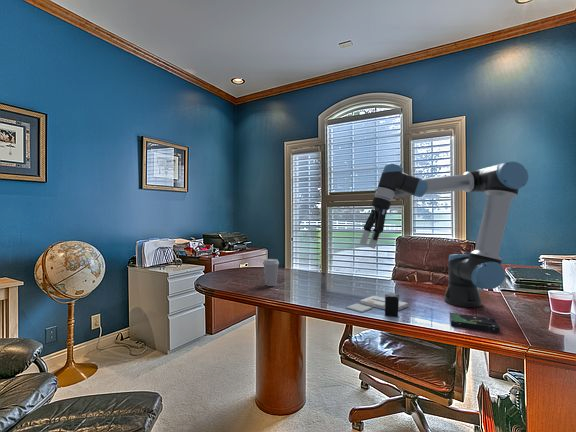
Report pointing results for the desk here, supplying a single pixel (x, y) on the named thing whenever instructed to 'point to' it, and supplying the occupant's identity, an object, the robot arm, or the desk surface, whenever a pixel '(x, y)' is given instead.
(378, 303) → the switch panel
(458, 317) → the disk drive
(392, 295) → the switch tab
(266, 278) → the coffee cup
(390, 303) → the ink cartridge
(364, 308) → the mat
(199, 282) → the desk surface
